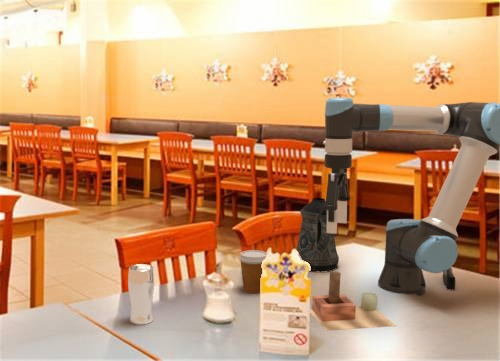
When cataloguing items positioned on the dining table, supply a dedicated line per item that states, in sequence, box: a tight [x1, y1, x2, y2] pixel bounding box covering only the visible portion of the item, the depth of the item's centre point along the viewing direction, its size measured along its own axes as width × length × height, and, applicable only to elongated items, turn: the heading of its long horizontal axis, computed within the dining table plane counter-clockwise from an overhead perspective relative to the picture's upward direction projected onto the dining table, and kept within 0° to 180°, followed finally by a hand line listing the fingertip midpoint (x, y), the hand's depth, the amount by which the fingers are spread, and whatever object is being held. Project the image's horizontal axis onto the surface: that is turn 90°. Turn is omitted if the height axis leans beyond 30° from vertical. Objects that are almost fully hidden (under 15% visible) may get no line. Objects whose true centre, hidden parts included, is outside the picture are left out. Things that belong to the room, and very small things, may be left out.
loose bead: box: [360, 292, 378, 311], centre depth 180 cm, size 4×4×4 cm
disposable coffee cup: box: [238, 249, 268, 294], centre depth 197 cm, size 10×10×12 cm
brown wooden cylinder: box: [328, 271, 341, 304], centre depth 174 cm, size 3×3×12 cm
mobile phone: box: [441, 266, 456, 291], centre depth 209 cm, size 5×3×15 cm
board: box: [309, 294, 397, 331], centre depth 172 cm, size 20×16×5 cm
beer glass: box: [127, 263, 155, 326], centre depth 168 cm, size 7×7×15 cm
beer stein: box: [295, 197, 340, 273], centre depth 224 cm, size 16×19×25 cm
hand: (336, 227), depth 177 cm, fingers open, 13 cm apart
